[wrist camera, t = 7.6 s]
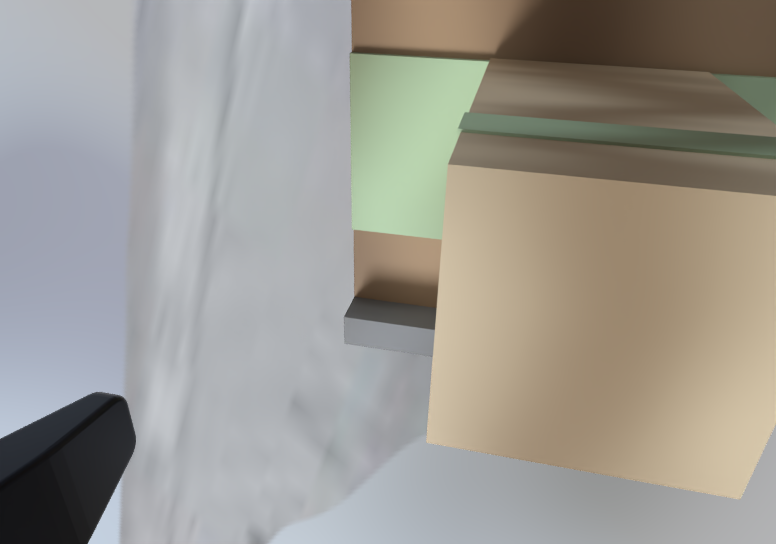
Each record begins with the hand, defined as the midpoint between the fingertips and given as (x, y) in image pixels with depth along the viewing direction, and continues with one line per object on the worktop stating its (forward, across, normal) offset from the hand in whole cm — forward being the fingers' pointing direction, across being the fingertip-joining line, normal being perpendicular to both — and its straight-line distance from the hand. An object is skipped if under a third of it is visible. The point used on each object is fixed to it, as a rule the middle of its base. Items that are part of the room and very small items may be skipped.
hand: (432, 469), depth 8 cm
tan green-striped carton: (+10, -2, -1) cm, 10 cm away
